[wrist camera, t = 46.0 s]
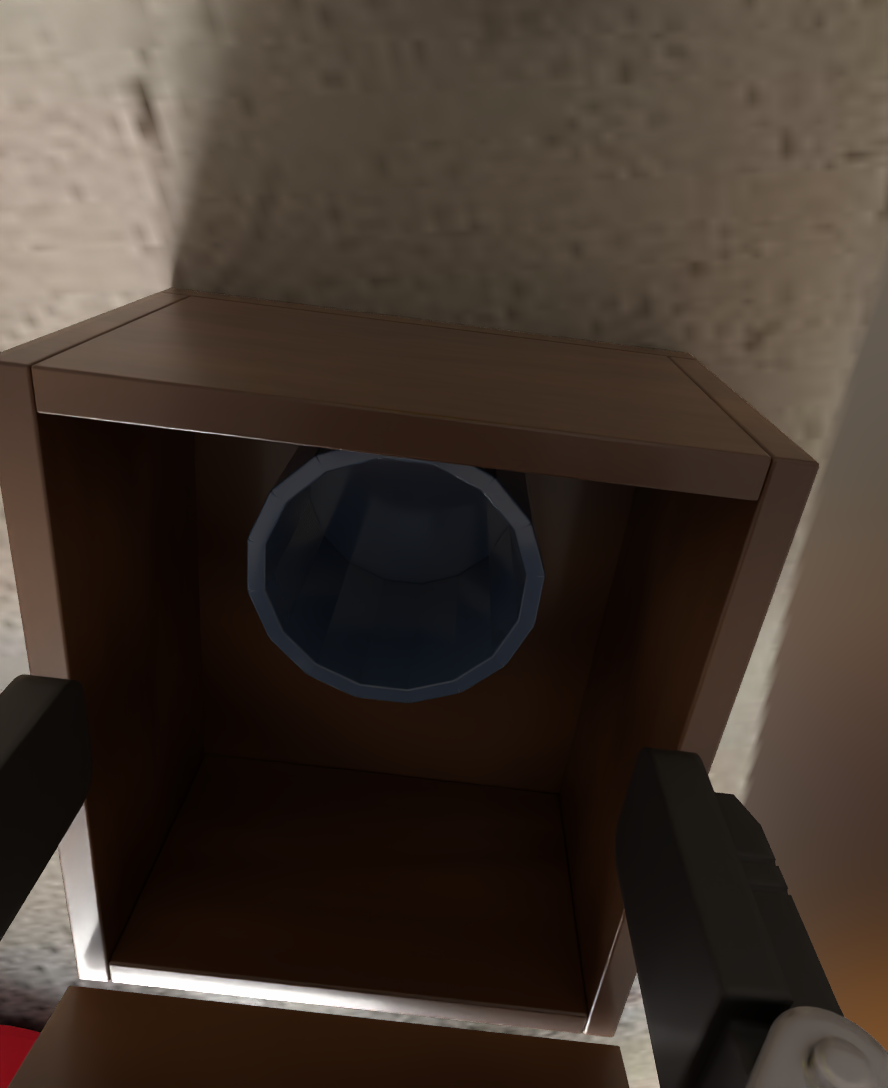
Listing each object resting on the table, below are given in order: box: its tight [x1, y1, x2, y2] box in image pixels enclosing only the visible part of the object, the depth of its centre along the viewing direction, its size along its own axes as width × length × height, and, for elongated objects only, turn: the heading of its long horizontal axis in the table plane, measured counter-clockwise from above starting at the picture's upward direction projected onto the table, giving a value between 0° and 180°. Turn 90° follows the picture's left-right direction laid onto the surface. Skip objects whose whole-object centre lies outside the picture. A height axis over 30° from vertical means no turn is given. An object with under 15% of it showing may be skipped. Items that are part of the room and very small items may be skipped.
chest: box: [0, 288, 819, 1037], centre depth 19 cm, size 16×14×8 cm
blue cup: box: [247, 445, 545, 703], centre depth 18 cm, size 6×6×6 cm
